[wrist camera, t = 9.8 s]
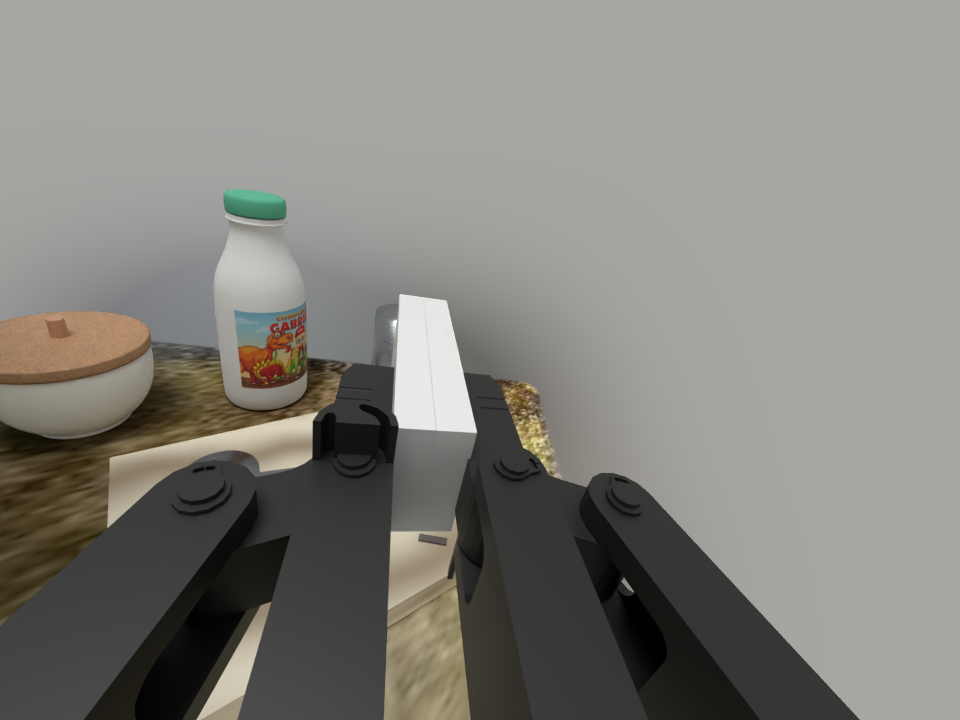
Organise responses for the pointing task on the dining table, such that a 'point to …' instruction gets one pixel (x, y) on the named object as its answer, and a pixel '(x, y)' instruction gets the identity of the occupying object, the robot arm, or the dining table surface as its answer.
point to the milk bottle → (260, 306)
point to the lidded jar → (73, 372)
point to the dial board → (275, 447)
